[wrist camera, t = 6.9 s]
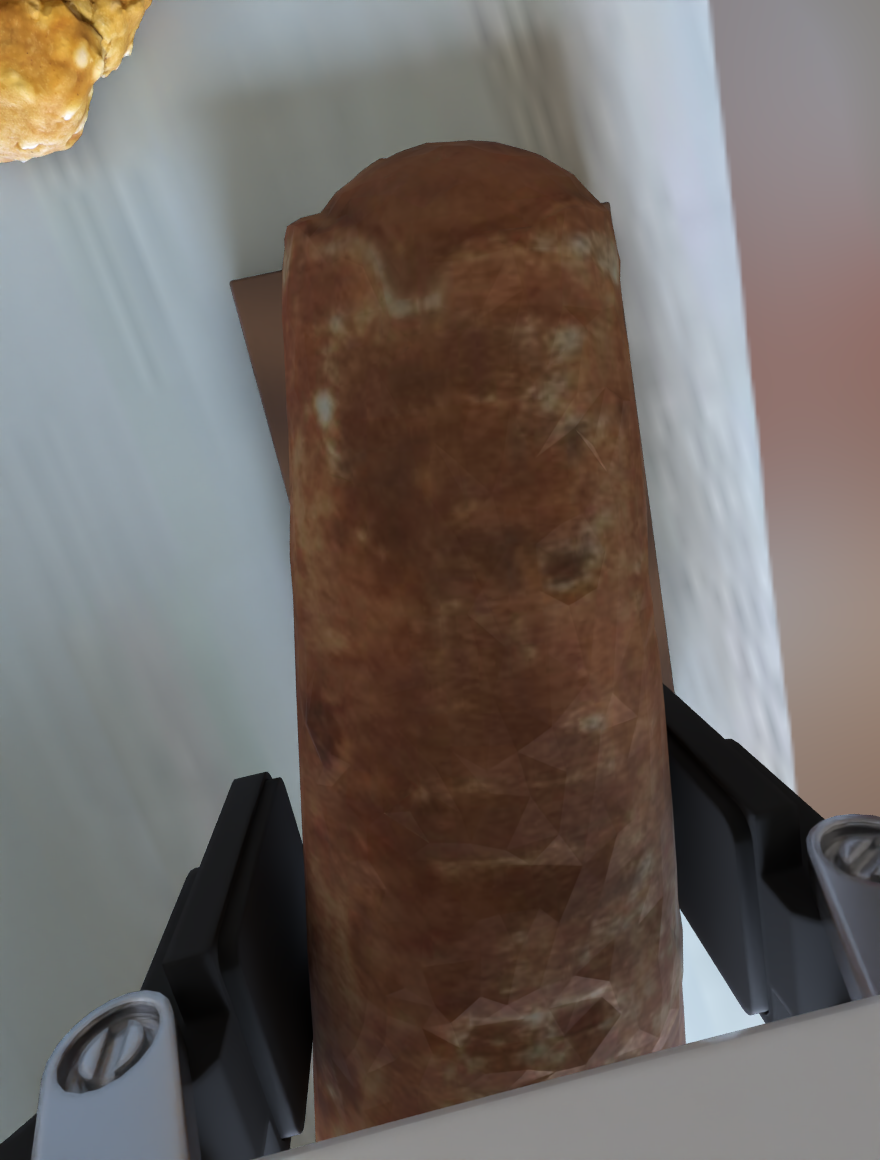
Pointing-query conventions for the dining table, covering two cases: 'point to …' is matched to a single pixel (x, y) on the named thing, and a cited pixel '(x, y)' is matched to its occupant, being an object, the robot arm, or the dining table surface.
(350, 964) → the bread
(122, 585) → the dining table surface
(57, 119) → the bagel
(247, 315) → the bread board
